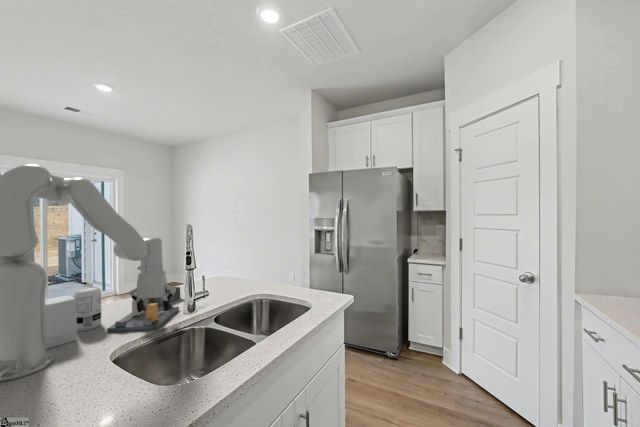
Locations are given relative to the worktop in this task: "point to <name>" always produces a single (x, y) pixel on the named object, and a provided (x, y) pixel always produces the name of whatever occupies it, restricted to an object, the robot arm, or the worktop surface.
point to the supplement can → (88, 308)
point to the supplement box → (60, 320)
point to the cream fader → (135, 309)
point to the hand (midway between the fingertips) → (153, 310)
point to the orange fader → (152, 311)
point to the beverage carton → (160, 299)
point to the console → (143, 321)
